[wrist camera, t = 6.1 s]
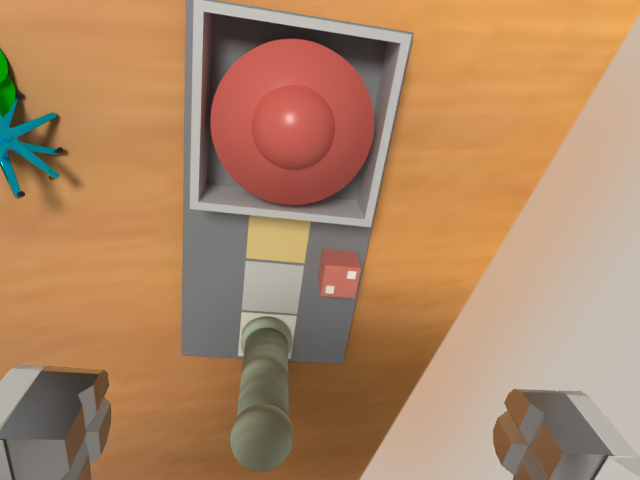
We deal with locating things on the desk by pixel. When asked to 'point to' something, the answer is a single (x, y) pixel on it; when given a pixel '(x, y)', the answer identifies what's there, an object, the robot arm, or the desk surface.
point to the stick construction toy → (19, 133)
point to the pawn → (263, 396)
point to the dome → (292, 121)
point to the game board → (272, 218)
